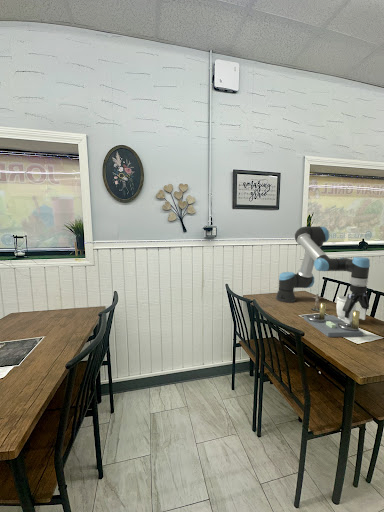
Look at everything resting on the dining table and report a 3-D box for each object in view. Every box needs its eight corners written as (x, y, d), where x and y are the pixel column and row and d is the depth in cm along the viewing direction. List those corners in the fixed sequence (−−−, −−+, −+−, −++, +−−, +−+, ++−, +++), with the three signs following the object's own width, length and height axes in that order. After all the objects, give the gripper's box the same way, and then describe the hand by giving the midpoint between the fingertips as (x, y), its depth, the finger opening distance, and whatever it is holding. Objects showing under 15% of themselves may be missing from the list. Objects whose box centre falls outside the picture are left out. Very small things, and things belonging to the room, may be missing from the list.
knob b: (334, 325, 129) (335, 308, 128) (342, 322, 134) (344, 305, 133) (353, 332, 121) (355, 313, 119) (361, 328, 126) (363, 310, 124)
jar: (357, 324, 137) (360, 301, 135) (339, 323, 139) (341, 300, 137) (349, 317, 147) (351, 296, 145) (332, 316, 149) (334, 295, 147)
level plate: (303, 319, 145) (304, 312, 144) (332, 318, 146) (333, 311, 145) (328, 337, 121) (328, 328, 120) (362, 336, 122) (363, 328, 121)
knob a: (307, 320, 136) (308, 304, 135) (305, 314, 145) (306, 299, 144) (326, 323, 132) (327, 306, 131) (323, 317, 141) (324, 301, 140)
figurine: (323, 308, 164) (324, 293, 162) (326, 312, 157) (327, 296, 156) (307, 307, 166) (308, 292, 164) (309, 310, 159) (311, 295, 158)
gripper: (351, 289, 113) (347, 327, 116) (379, 284, 122) (375, 319, 125) (337, 285, 120) (333, 322, 122) (364, 281, 129) (361, 315, 132)
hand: (354, 321), depth 124 cm, fingers open, 13 cm apart
